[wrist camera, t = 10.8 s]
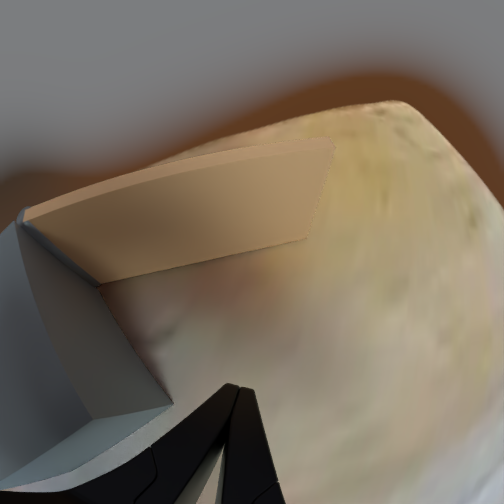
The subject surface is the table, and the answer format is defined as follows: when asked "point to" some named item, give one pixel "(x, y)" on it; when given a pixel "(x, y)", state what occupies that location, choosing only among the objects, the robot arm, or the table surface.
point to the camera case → (61, 368)
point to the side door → (185, 210)
